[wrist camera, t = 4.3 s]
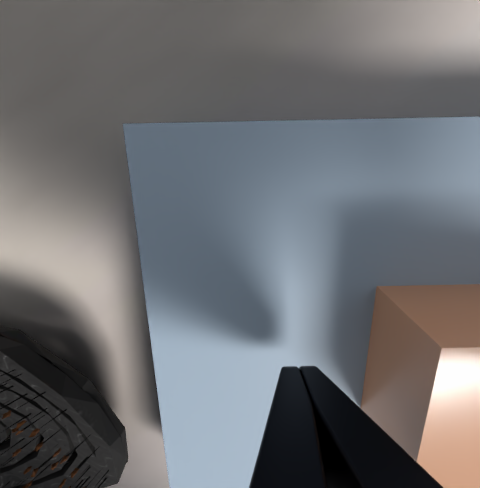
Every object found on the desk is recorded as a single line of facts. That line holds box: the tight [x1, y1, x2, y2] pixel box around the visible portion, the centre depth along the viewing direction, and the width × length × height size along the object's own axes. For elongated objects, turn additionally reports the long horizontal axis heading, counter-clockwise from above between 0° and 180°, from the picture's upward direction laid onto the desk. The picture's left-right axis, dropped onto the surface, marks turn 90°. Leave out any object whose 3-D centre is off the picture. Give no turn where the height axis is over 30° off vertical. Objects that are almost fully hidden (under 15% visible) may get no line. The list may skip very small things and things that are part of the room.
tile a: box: [361, 284, 480, 488], centre depth 7 cm, size 4×4×2 cm
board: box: [123, 117, 480, 488], centre depth 9 cm, size 12×16×2 cm
